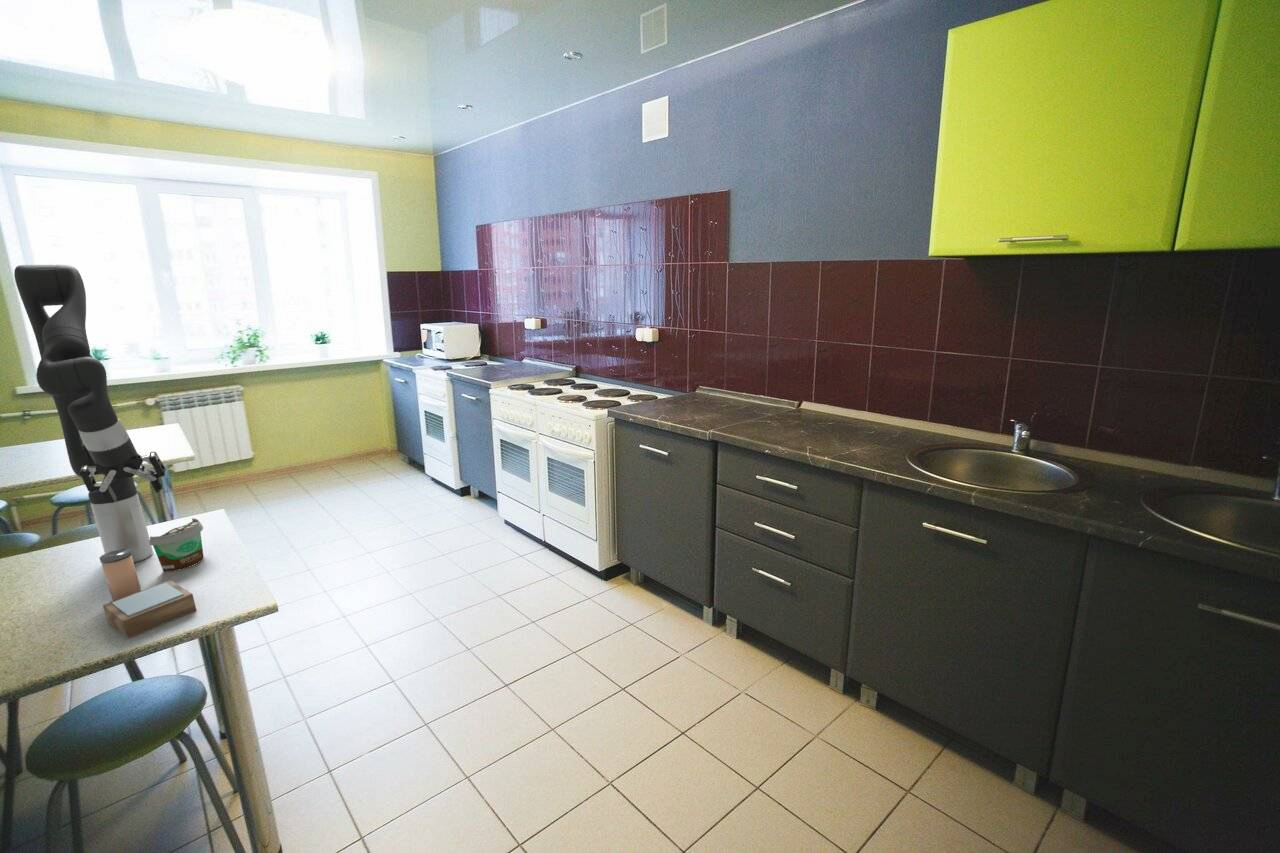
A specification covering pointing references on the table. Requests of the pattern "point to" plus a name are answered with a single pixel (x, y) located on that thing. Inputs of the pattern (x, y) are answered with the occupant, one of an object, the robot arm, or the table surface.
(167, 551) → the food container
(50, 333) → the robot arm
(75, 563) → the table surface
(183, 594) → the walnut riser
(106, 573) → the terracotta canister
